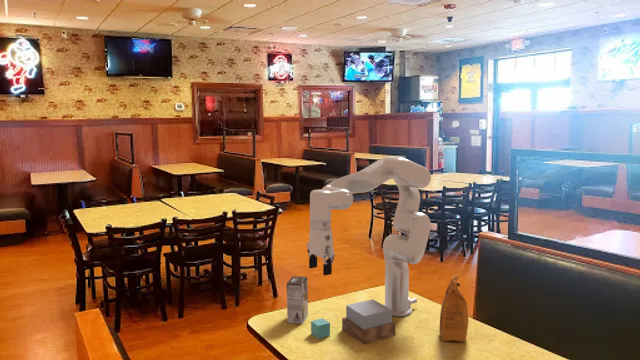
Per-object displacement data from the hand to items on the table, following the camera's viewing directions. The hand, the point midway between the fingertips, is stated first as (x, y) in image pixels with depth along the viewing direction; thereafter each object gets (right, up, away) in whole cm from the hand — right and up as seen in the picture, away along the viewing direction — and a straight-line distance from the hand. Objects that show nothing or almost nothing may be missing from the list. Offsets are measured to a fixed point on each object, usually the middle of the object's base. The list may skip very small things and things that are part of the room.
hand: (320, 271), depth 176 cm
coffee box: (-9, -22, +17) cm, 30 cm away
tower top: (+18, -19, +4) cm, 26 cm away
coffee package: (+48, -24, +1) cm, 54 cm away
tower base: (+18, -24, +5) cm, 30 cm away
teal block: (0, -24, +3) cm, 24 cm away
